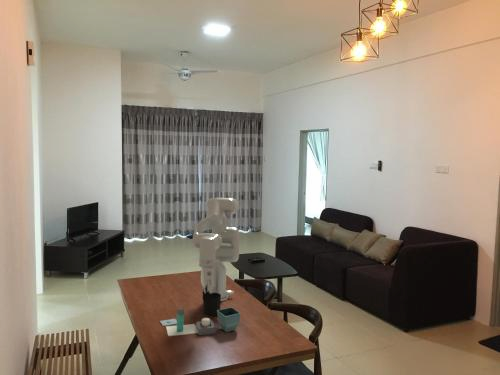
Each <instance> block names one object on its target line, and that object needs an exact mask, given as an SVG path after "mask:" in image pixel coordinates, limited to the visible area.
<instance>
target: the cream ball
mask: <svg viewBox="0 0 500 375" xmlns="http://www.w3.org/2000/svg"><path fill="white" fill-rule="evenodd" d="M201 321H202V327H209V326H210V321H211V319H210V318H208V317H203V318H202V319H201Z"/></svg>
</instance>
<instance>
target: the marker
mask: <svg viewBox="0 0 500 375" xmlns="http://www.w3.org/2000/svg"><path fill="white" fill-rule="evenodd" d="M176 320H177V324H176V326H177V332H182V331H183V326H184V325H185V324H184V322H185V309H184V308H182V307H181V308H177V309H176Z"/></svg>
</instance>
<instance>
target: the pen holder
mask: <svg viewBox="0 0 500 375" xmlns="http://www.w3.org/2000/svg"><path fill="white" fill-rule="evenodd" d="M221 302H222V301H221V294H219V293H211V294H210V301H203V300H202V306H203V314H204V315H205V316H207V317H218V316H217V310H221Z"/></svg>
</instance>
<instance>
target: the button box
mask: <svg viewBox="0 0 500 375" xmlns="http://www.w3.org/2000/svg"><path fill="white" fill-rule="evenodd" d="M195 326H196V329H197V331H198V333H197V334H198V335H199V336H202V335H212V334H216V326H215V324H214V321H213V320H210V326H209V327H202V320H201V321H196V322H195Z"/></svg>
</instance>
